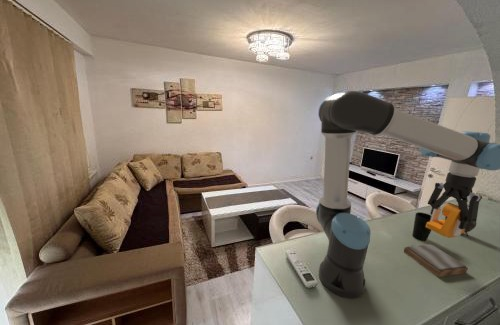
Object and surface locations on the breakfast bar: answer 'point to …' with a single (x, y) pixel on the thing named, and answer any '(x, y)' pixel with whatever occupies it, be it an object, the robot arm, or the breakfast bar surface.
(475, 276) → the breakfast bar surface
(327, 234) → the robot arm
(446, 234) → the bracket
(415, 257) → the plinth
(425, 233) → the cup
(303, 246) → the breakfast bar surface
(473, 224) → the alarm clock
